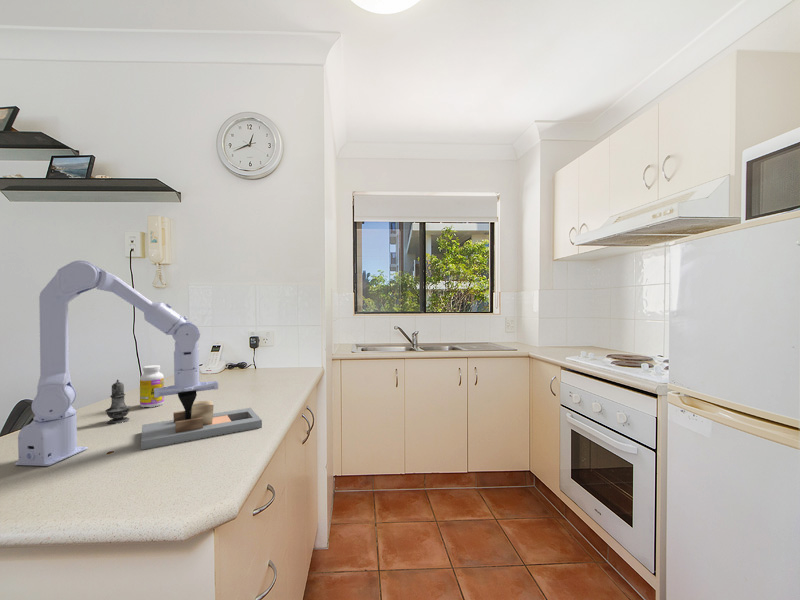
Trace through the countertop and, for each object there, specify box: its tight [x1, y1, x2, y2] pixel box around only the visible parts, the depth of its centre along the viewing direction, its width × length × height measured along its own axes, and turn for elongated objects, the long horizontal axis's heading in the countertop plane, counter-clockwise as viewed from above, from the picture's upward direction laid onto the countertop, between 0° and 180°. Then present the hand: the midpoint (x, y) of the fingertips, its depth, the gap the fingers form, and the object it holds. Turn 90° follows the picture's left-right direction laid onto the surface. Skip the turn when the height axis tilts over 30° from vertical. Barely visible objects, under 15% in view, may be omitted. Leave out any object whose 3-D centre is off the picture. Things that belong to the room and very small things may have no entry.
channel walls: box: [173, 410, 203, 433], centre depth 101 cm, size 6×10×2 cm, turn 33°
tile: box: [208, 415, 231, 425], centre depth 105 cm, size 6×7×2 cm
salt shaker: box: [105, 379, 131, 425], centre depth 112 cm, size 6×6×12 cm
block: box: [190, 400, 214, 425], centre depth 103 cm, size 5×5×5 cm
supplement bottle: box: [139, 364, 165, 408], centre depth 128 cm, size 7×7×13 cm
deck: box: [140, 407, 263, 451], centre depth 103 cm, size 27×14×2 cm, turn 123°
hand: (187, 420), depth 101 cm, fingers closed, pressing on block
